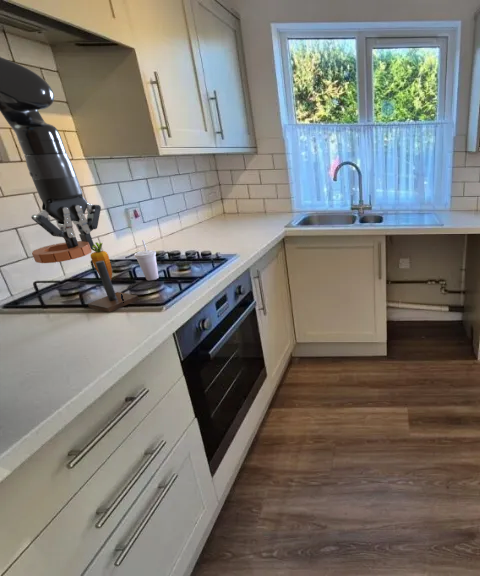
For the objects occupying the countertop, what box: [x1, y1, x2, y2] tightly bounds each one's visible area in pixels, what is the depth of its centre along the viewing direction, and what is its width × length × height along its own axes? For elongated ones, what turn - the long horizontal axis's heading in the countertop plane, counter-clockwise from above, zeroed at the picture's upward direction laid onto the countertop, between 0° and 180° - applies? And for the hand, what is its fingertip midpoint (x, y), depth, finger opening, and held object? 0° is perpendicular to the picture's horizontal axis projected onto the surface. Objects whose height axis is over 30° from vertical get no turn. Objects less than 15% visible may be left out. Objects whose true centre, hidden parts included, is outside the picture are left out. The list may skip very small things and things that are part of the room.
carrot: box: [90, 242, 113, 281], centre depth 122 cm, size 5×5×15 cm
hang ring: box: [31, 240, 93, 264], centre depth 83 cm, size 10×10×2 cm
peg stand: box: [87, 261, 139, 313], centre depth 106 cm, size 9×9×14 cm
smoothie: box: [134, 239, 160, 281], centre depth 125 cm, size 6×6×14 cm
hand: (82, 250), depth 87 cm, fingers closed on hang ring, 2 cm apart
